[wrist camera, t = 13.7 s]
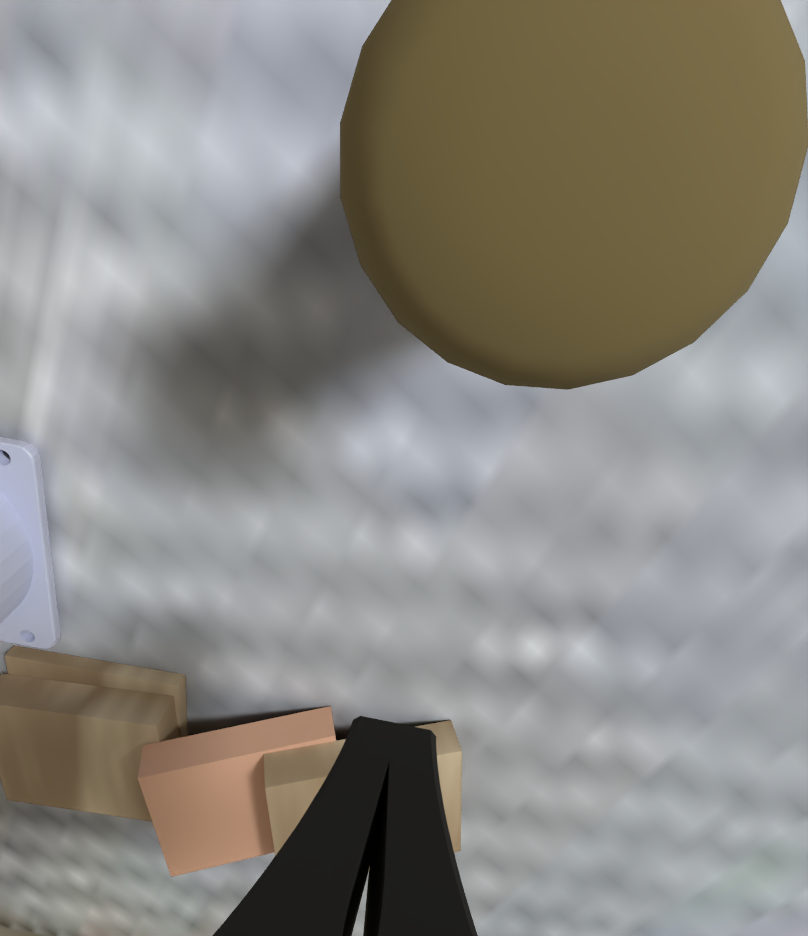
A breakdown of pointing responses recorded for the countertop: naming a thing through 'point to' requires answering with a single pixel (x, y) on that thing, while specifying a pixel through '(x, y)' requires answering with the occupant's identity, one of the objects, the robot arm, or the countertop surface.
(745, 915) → the countertop surface
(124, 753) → the middle domino
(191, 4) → the countertop surface
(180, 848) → the domino
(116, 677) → the domino
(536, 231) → the cork
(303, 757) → the end domino
